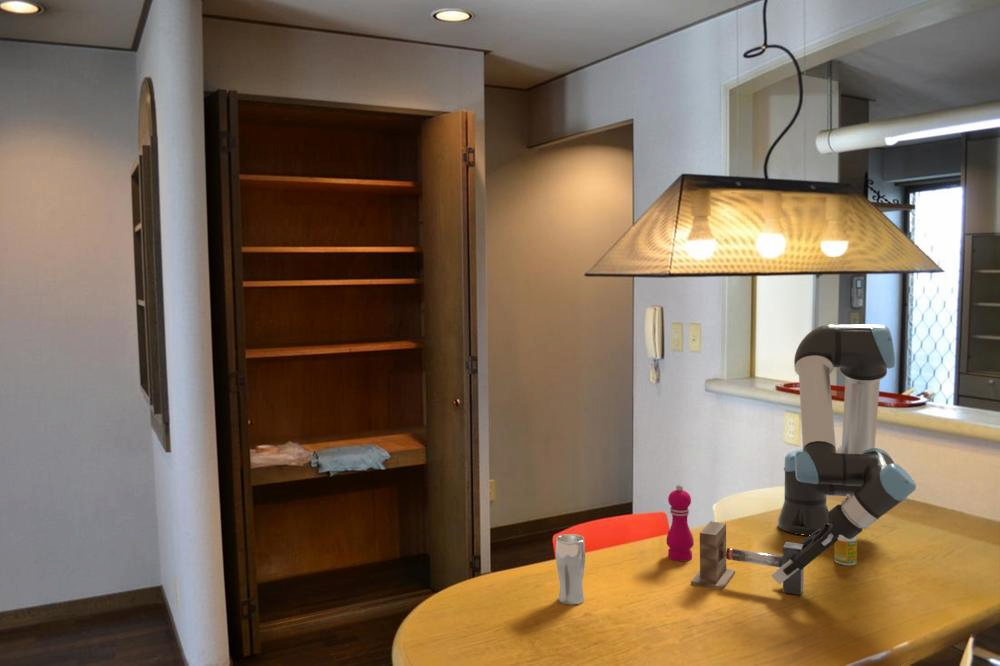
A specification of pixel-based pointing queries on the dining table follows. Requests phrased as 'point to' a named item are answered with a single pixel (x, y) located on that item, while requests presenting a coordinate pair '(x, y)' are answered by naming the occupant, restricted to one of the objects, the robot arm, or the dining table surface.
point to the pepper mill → (679, 526)
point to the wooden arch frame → (713, 558)
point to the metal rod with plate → (774, 563)
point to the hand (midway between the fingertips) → (779, 572)
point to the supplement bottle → (845, 551)
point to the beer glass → (570, 567)
